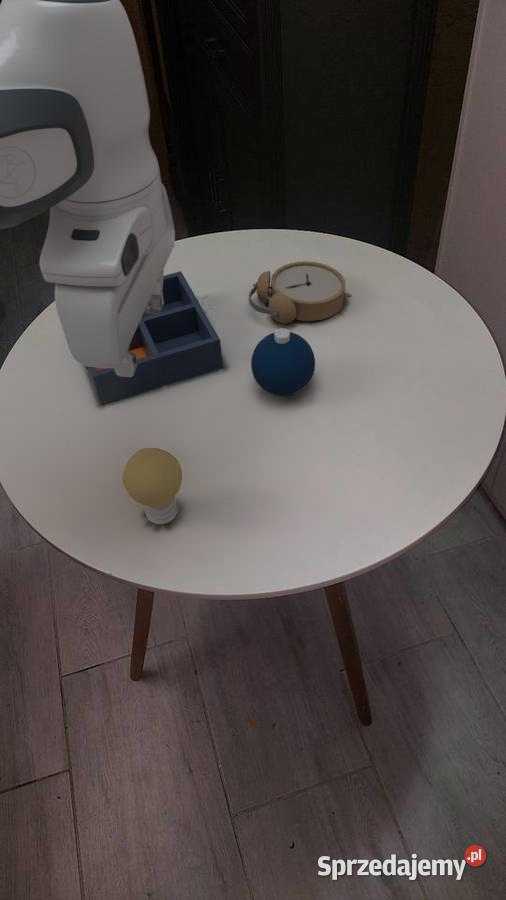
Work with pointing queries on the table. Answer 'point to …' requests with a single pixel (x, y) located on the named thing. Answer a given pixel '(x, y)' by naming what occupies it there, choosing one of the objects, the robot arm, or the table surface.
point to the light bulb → (154, 482)
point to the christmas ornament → (283, 363)
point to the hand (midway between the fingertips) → (141, 339)
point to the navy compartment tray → (165, 346)
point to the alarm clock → (300, 292)
